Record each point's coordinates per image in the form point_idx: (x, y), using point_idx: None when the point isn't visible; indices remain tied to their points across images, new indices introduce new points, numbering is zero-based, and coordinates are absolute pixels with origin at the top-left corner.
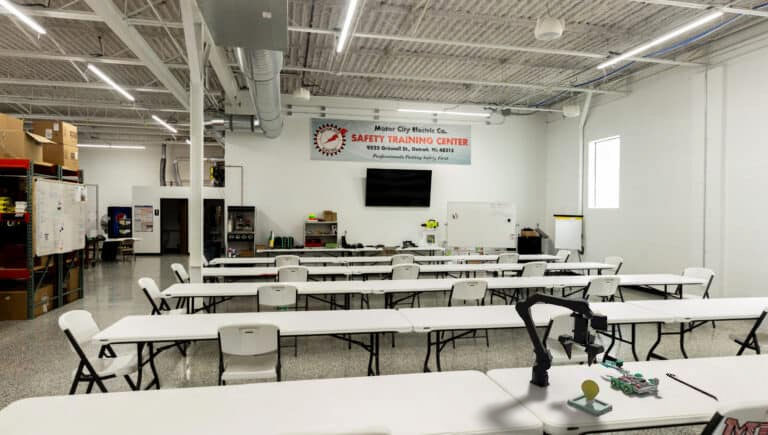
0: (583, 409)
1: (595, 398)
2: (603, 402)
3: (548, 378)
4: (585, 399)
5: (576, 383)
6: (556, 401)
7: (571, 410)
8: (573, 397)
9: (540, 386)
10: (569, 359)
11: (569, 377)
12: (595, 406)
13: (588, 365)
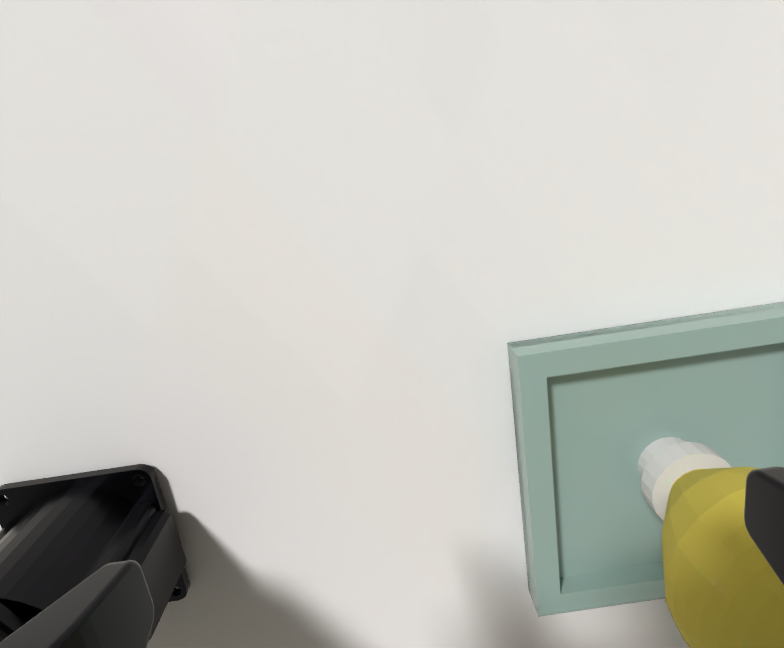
0: None
1: (661, 348)
2: (759, 344)
3: (144, 559)
4: (661, 518)
5: (208, 120)
6: (463, 644)
7: (626, 645)
8: (534, 539)
9: (182, 596)
10: (150, 613)
11: (10, 39)
12: (720, 444)
13: (780, 565)
